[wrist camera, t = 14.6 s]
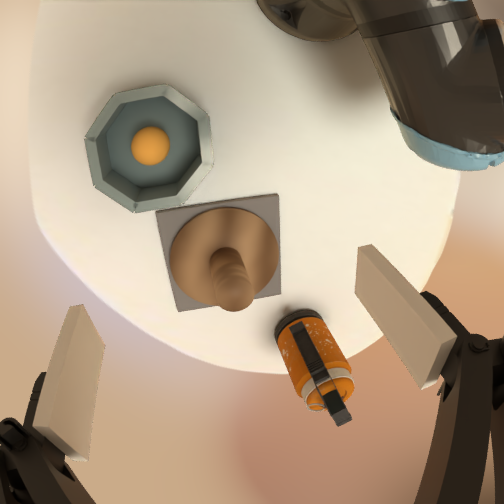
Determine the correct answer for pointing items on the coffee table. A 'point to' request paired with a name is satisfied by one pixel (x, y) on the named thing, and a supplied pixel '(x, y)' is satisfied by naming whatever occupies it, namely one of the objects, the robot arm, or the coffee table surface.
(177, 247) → the walnut lid
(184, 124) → the slate bowl
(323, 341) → the canister
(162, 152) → the orange ball
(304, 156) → the coffee table surface
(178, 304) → the rubber mat
